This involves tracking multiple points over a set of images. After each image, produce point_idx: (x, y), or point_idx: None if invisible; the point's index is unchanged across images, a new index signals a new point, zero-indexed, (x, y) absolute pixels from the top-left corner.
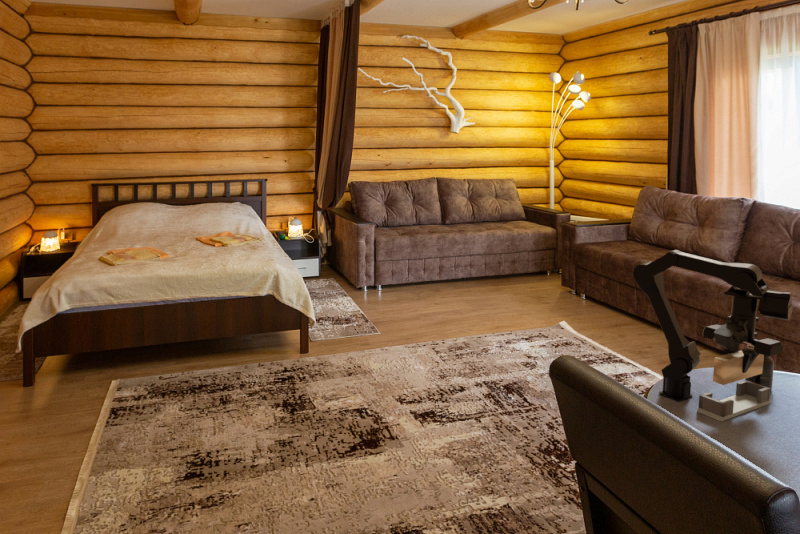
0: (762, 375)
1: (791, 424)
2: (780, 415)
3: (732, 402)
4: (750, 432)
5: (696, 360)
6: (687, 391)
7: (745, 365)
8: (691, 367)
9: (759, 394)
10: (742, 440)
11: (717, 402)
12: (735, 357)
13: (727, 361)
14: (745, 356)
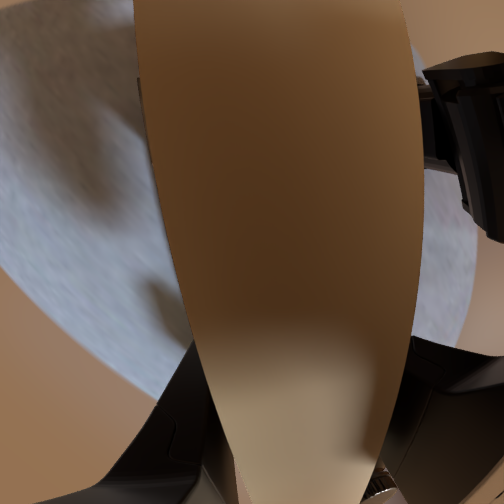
0: None
1: (56, 317)
2: (124, 341)
3: (150, 151)
4: (35, 126)
5: (497, 185)
6: None
7: (174, 377)
8: (459, 90)
9: None
10: (10, 59)
11: None
12: (222, 332)
13: (135, 10)
14: (164, 463)
